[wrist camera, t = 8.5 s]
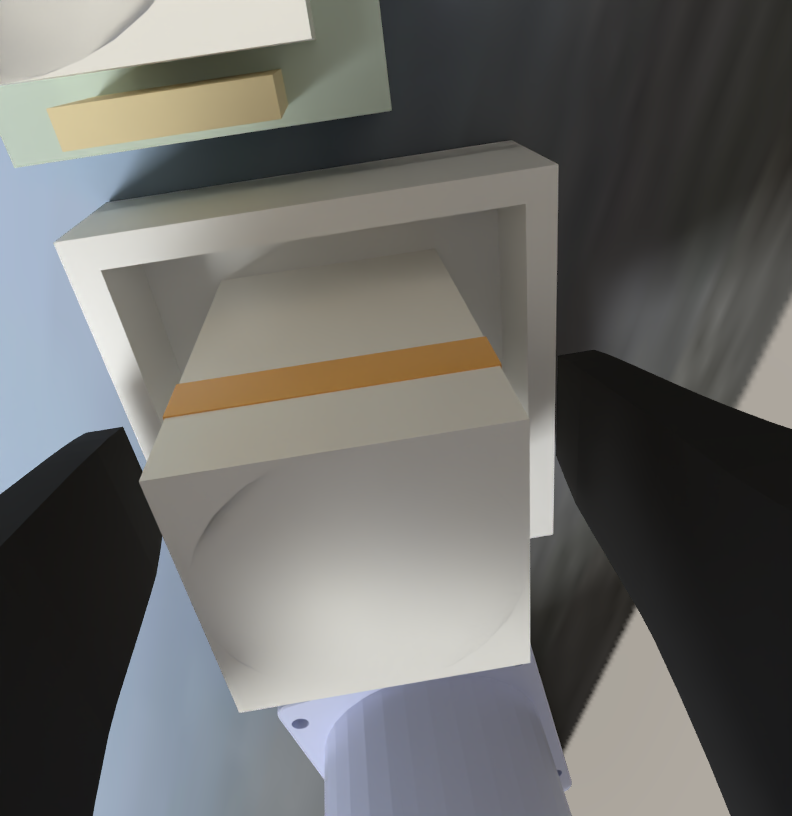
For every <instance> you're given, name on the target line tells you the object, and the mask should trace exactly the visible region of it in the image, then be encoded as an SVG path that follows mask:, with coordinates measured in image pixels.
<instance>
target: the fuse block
mask: <svg viewBox="0 0 792 816" xmlns="http://www.w3.org/2000/svg"><path fill="white" fill-rule="evenodd" d="M310 5H311V11H312V17H313V23H314V29H315V35H316V40H312V41H305V42H298V43H291V44H285V45H278V46H271V47H264V48H258V49H251V50H244V51H237V52H231V53H224V54H217V55H210V56H204V57H197V58H190V59H183V60H177V61H170V62H163V63H156V64H150V65H143V66H136V67H129V68H123V69H116V70H109V71H102V72H96V73H89V74H82V75H75V76H69V77H62V78H55V79H48V80H41V81H34V82H27V83H20V84H13V85H6V86H0V136H1V138H2V140H3V142H4V145H5V147H6V149H7V152H8V154H9V156H10V159H11V161H12V163H13V166H14V168H17V167H24V166H31V165H37V164H44V163H50V162H57V161H64V160H70V159H77V158H83V157H90V156H97V155H103V154H110V153H116V152H123V151H130V150H136V149H143V148H149V147H156V146H163V145H169V144H176V143H182V142H189V141H195V140H202V139H209V138H215V137H222V136H228V135H235V134H242V133H248V132H255V131H261V130H268V129H275V128H281V127H288V126H294V125H301V124H308V123H314V122H321V121H327V120H334V119H341V118H347V117H354V116H360V115H367V114H374V113H380V112H387V111H392V107H391V99H390V90H389V82H388V73H387V65H386V56H385V47H384V39H383V30H382V22H381V13H380V5H379V0H310Z"/></svg>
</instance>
